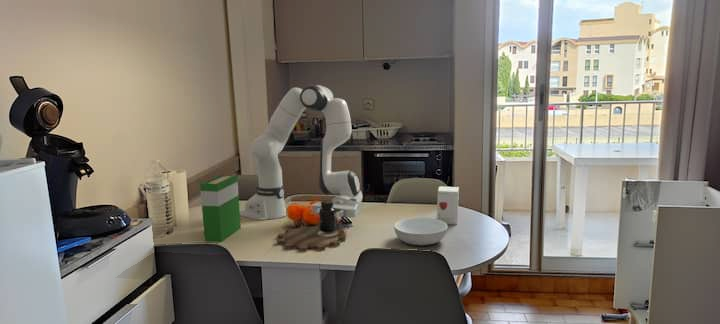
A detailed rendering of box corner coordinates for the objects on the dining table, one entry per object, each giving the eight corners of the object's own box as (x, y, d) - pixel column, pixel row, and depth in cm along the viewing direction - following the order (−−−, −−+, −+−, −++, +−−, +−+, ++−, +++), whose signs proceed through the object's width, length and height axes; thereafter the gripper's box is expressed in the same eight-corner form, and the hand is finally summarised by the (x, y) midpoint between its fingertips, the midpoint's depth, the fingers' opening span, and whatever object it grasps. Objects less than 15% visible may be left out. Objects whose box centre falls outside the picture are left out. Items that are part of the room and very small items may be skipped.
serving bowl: (412, 229, 209) (412, 214, 208) (456, 239, 196) (457, 223, 195) (383, 243, 194) (383, 226, 192) (429, 255, 181) (429, 237, 179)
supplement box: (436, 223, 216) (436, 190, 213) (438, 217, 225) (438, 185, 222) (457, 224, 214) (458, 191, 211) (458, 218, 223) (459, 186, 220)
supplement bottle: (316, 231, 200) (315, 202, 198) (325, 226, 206) (324, 198, 204) (330, 233, 197) (329, 204, 195) (339, 228, 203) (338, 200, 201)
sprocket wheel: (263, 246, 193) (263, 242, 192) (299, 225, 218) (299, 221, 217) (326, 255, 182) (326, 251, 181) (356, 232, 207) (356, 228, 206)
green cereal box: (225, 227, 217) (221, 174, 212) (240, 228, 215) (237, 174, 211) (204, 241, 200) (200, 183, 195) (221, 242, 198) (217, 184, 194)
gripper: (319, 196, 216) (303, 204, 203) (362, 200, 208) (348, 209, 195) (320, 210, 217) (304, 219, 204) (362, 214, 209) (349, 224, 196)
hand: (326, 214), depth 200 cm, fingers closed on supplement bottle, 7 cm apart
